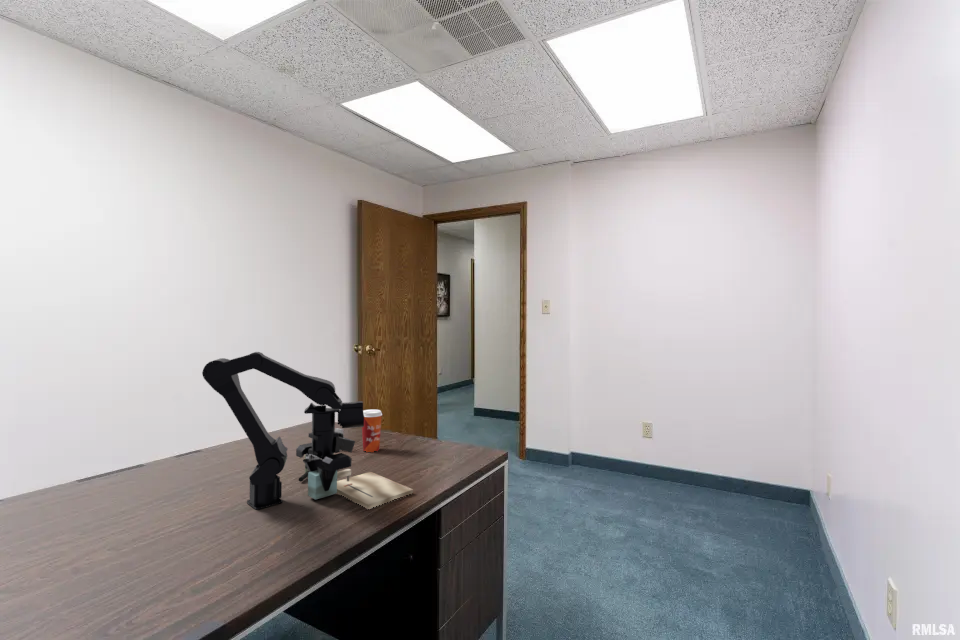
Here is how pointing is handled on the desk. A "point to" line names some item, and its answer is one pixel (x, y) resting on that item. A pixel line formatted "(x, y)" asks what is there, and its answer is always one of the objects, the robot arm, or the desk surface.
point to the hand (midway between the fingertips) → (322, 488)
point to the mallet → (317, 488)
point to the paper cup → (371, 430)
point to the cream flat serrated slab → (371, 489)
